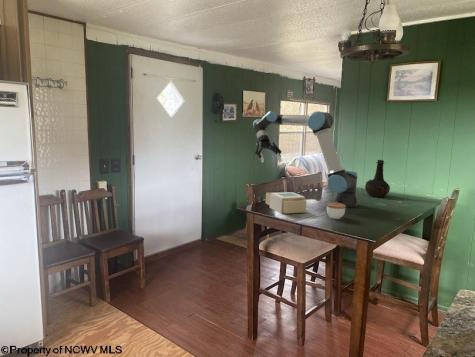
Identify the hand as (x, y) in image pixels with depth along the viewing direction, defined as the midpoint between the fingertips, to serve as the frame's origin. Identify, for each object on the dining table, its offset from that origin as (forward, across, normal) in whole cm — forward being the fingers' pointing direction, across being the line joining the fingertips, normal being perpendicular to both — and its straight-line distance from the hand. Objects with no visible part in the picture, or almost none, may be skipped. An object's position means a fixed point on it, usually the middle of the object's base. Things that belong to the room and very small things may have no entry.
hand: (271, 161), depth 249 cm
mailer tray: (+38, +4, +2) cm, 38 cm away
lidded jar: (+56, -14, +20) cm, 61 cm away
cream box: (+40, +4, +3) cm, 40 cm away
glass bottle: (+26, -88, -11) cm, 92 cm away
